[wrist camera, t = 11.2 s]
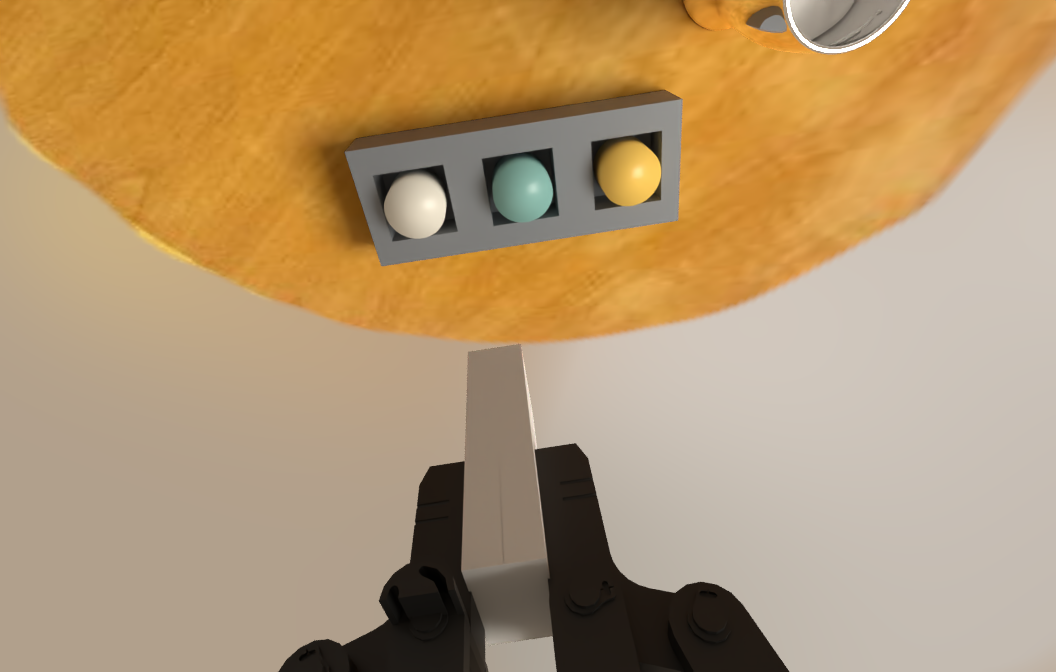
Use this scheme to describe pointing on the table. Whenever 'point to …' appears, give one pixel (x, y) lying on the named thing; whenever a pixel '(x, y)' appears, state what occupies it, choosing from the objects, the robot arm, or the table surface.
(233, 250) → the table surface
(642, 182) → the button amber
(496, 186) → the button teal
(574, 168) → the console
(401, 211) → the button ivory
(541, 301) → the table surface
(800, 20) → the beer glass
